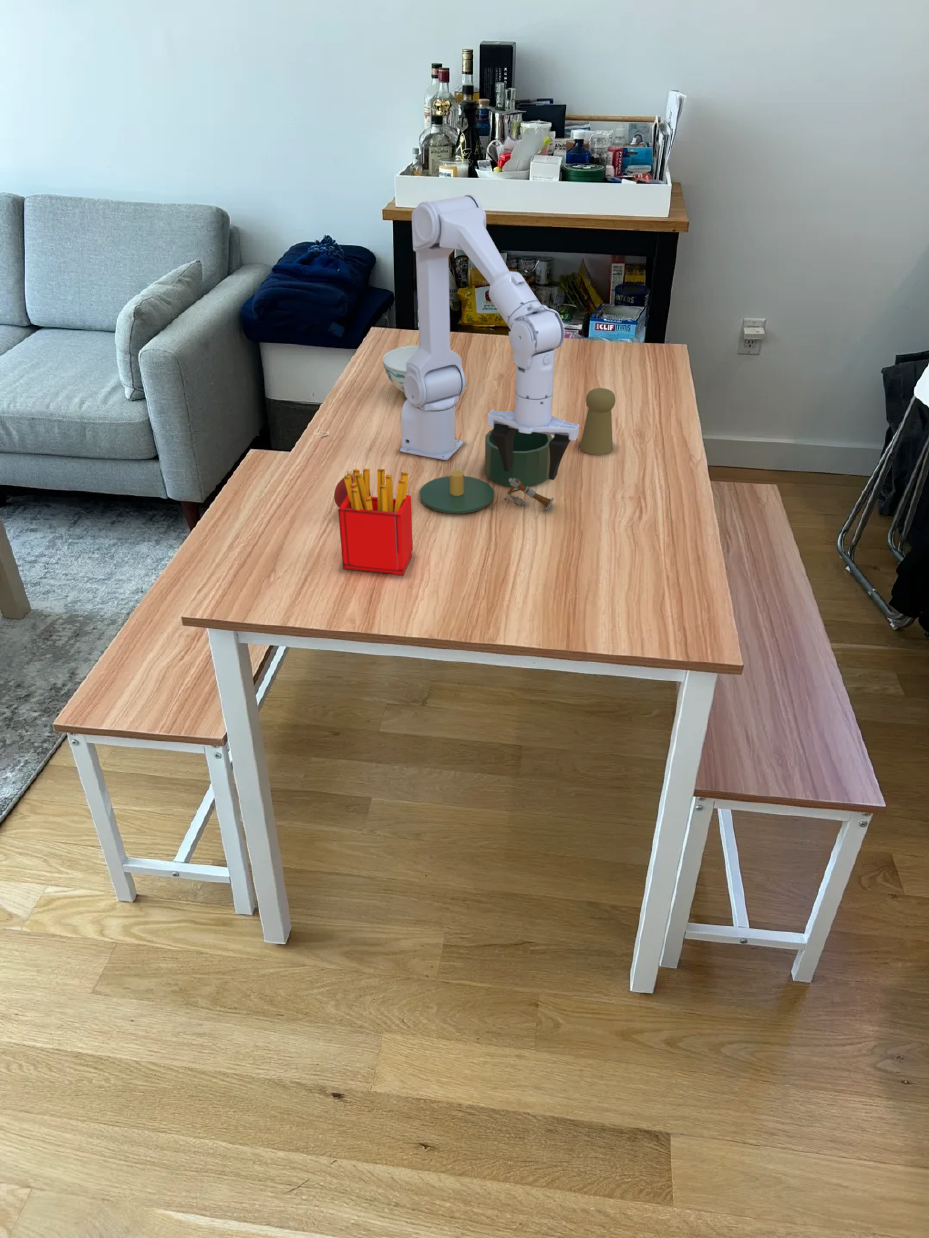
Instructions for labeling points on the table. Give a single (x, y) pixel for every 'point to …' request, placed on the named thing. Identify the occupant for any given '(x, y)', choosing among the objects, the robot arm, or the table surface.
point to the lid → (456, 493)
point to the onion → (342, 490)
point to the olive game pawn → (598, 422)
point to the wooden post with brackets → (529, 492)
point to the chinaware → (398, 364)
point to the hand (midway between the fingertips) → (530, 473)
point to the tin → (520, 459)
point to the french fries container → (376, 524)
